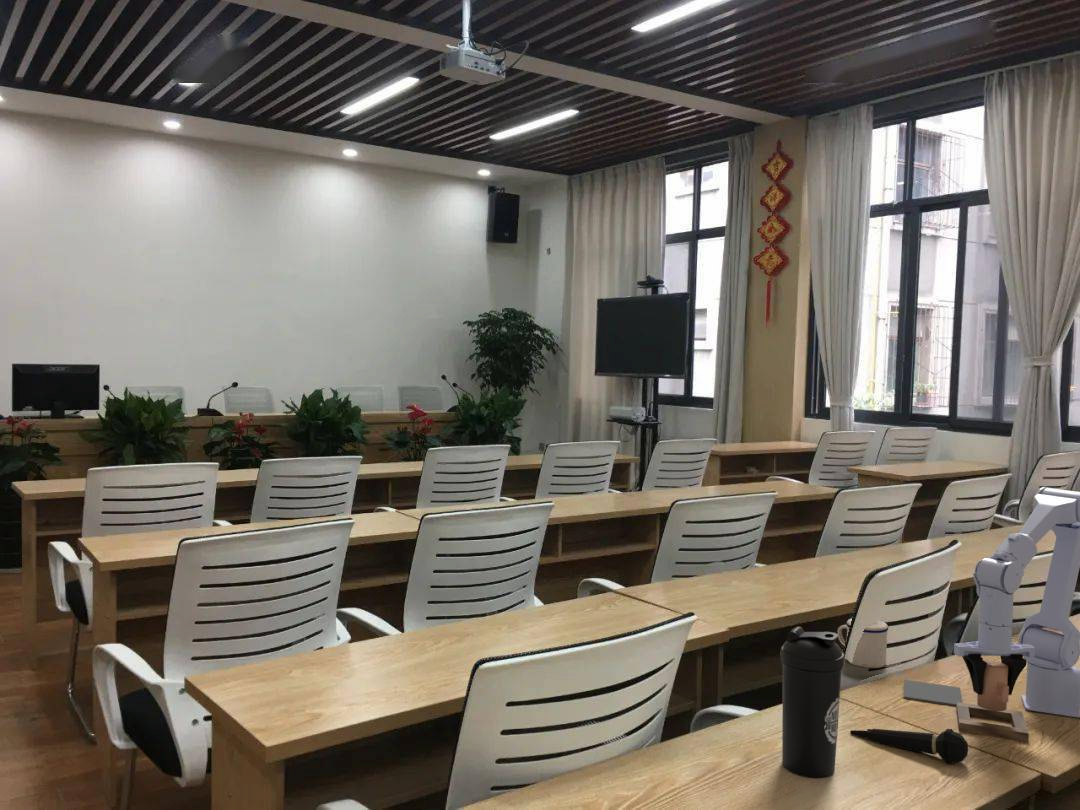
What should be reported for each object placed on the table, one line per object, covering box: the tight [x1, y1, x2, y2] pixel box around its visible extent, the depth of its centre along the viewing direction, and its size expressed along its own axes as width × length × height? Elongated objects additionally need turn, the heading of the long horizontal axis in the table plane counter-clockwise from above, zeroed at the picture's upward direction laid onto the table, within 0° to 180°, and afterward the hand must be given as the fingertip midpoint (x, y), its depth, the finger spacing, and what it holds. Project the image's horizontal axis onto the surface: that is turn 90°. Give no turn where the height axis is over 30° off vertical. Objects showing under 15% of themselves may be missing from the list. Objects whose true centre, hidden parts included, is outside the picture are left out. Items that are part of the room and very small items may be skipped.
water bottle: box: [780, 626, 845, 779], centre depth 151 cm, size 10×10×23 cm
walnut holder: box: [955, 702, 1030, 742], centre depth 171 cm, size 12×12×2 cm
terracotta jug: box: [976, 659, 1010, 711], centre depth 170 cm, size 8×5×8 cm, turn 2°
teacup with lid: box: [837, 617, 889, 669], centre depth 207 cm, size 12×9×12 cm
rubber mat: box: [903, 679, 963, 707], centre depth 187 cm, size 11×11×1 cm
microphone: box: [849, 728, 969, 765], centre depth 159 cm, size 6×6×20 cm
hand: (992, 693), depth 171 cm, fingers closed on terracotta jug, 5 cm apart
